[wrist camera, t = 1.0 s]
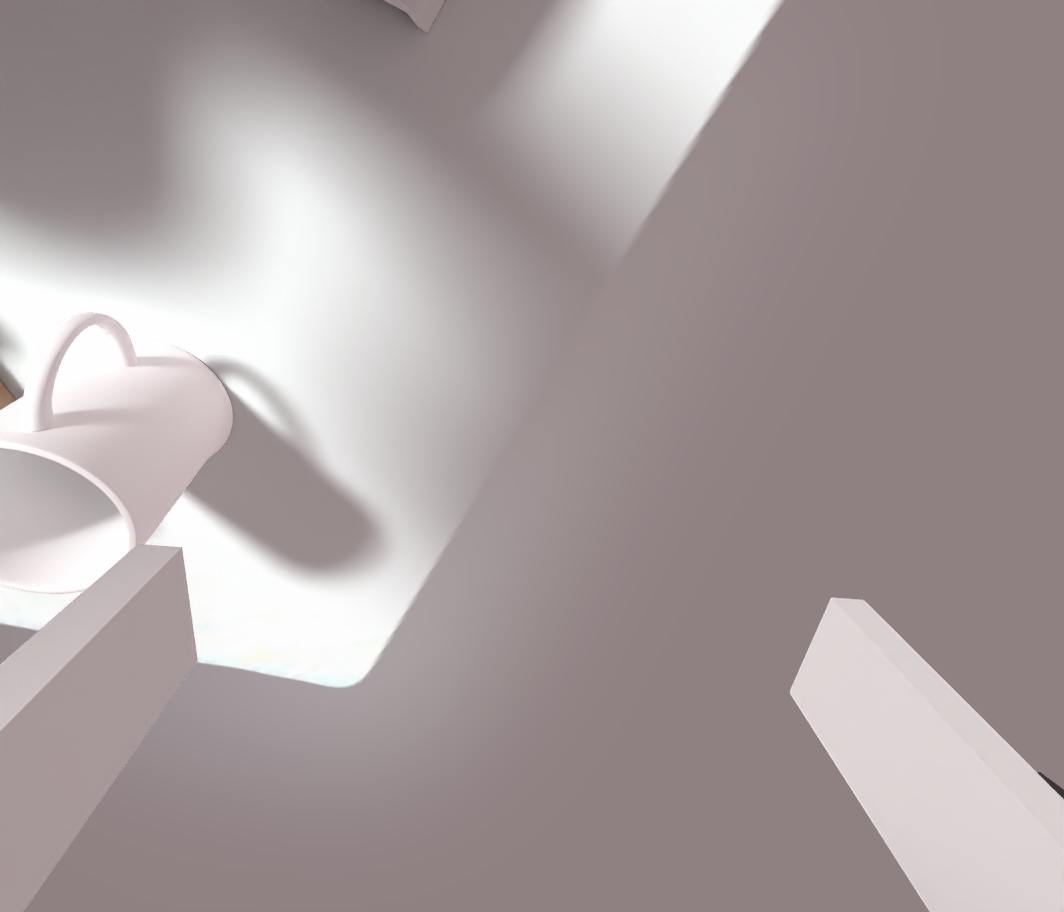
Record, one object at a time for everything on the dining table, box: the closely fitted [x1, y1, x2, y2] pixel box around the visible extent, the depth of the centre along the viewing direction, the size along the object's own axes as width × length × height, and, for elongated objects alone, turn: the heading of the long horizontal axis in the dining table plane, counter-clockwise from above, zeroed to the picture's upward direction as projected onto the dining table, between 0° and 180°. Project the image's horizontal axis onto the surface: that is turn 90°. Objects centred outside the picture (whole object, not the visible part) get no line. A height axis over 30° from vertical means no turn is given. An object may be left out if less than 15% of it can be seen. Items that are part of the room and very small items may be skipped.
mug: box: [0, 312, 233, 594], centre depth 26 cm, size 12×8×12 cm
